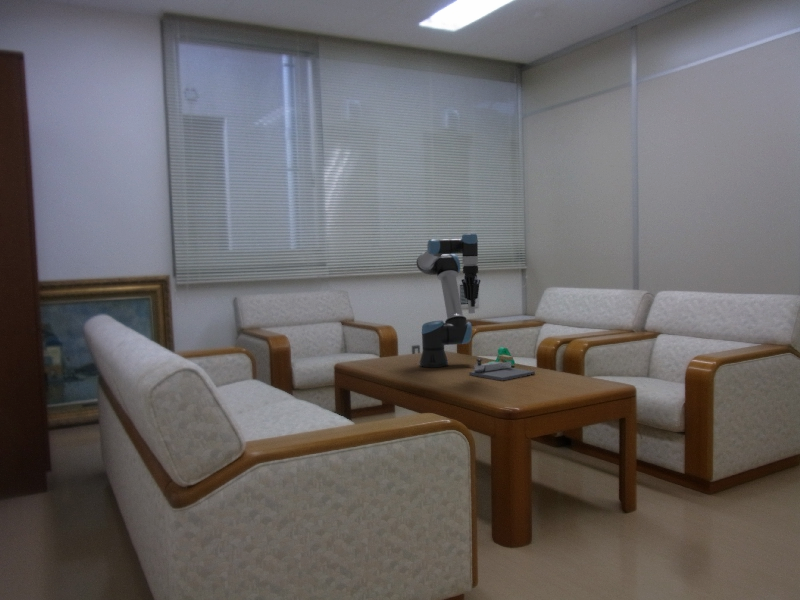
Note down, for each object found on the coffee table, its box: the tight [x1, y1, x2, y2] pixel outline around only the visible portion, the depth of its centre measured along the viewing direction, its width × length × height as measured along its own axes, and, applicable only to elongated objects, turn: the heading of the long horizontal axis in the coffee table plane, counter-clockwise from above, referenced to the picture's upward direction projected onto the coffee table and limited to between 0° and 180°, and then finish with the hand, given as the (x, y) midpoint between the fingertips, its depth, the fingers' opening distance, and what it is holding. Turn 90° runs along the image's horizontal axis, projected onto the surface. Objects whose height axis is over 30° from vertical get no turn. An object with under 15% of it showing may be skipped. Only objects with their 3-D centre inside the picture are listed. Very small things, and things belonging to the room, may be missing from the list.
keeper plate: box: [468, 355, 536, 382], centre depth 316 cm, size 22×22×8 cm
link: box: [473, 358, 512, 372], centre depth 322 cm, size 20×5×6 cm, turn 121°
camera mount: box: [487, 346, 516, 366], centre depth 340 cm, size 12×8×10 cm, turn 120°
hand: (471, 313), depth 325 cm, fingers closed
